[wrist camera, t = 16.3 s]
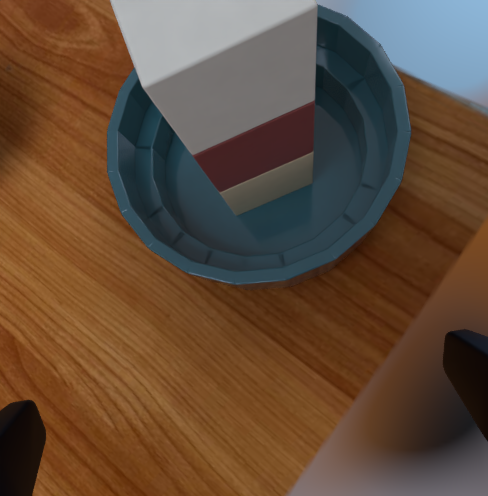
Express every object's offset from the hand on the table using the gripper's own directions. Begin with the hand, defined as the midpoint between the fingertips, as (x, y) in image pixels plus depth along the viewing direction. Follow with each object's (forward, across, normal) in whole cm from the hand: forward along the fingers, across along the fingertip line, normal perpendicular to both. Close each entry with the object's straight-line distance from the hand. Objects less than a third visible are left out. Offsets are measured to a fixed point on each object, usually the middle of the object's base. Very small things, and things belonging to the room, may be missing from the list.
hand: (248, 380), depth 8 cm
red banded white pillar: (+15, -3, -2) cm, 15 cm away
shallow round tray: (+16, -3, -2) cm, 16 cm away
